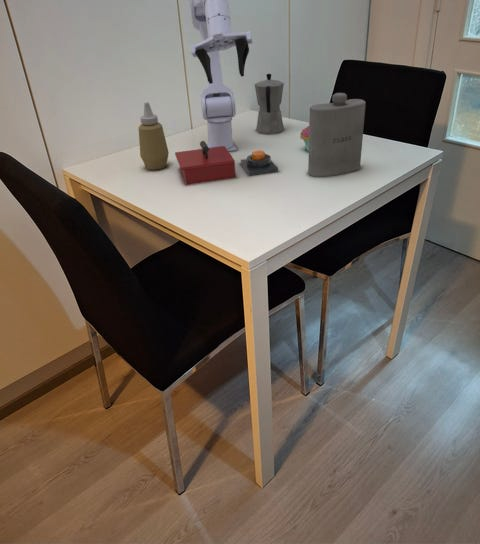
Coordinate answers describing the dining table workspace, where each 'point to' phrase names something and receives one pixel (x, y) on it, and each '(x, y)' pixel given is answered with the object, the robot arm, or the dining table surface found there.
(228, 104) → the robot arm
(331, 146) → the flask
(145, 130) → the squeeze bottle
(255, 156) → the power button
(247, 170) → the switch box
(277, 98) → the coffeepot
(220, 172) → the maroon rectangular box
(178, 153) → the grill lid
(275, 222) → the dining table surface
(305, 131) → the cupcake
